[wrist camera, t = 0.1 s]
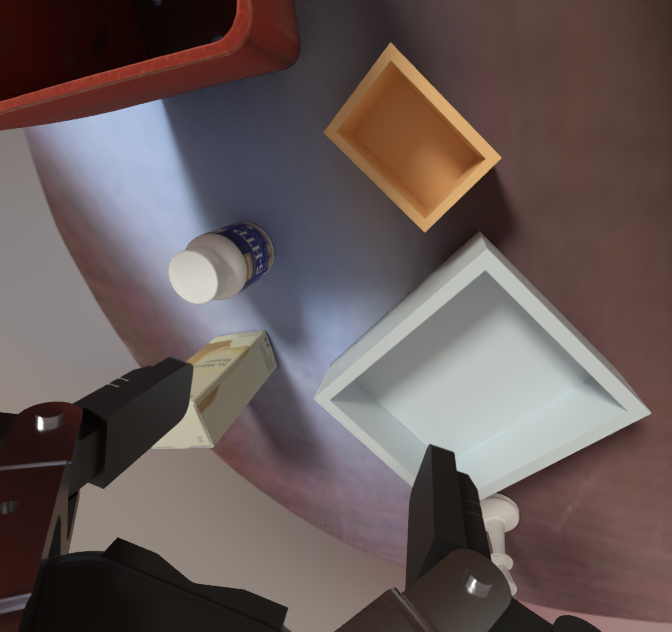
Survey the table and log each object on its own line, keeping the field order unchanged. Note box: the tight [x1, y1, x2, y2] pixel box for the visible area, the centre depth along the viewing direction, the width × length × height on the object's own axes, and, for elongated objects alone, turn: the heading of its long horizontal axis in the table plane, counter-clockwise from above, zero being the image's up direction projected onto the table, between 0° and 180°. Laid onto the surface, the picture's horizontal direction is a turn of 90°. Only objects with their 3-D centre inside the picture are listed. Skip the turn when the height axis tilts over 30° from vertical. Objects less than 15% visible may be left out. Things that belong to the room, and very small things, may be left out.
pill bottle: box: [169, 222, 274, 304], centre depth 31 cm, size 5×5×9 cm
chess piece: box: [480, 493, 519, 600], centre depth 36 cm, size 5×5×10 cm
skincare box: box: [152, 330, 277, 449], centre depth 34 cm, size 6×4×12 cm
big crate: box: [314, 231, 651, 500], centre depth 32 cm, size 18×16×6 cm
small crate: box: [323, 42, 501, 232], centre depth 26 cm, size 6×9×6 cm, turn 48°
